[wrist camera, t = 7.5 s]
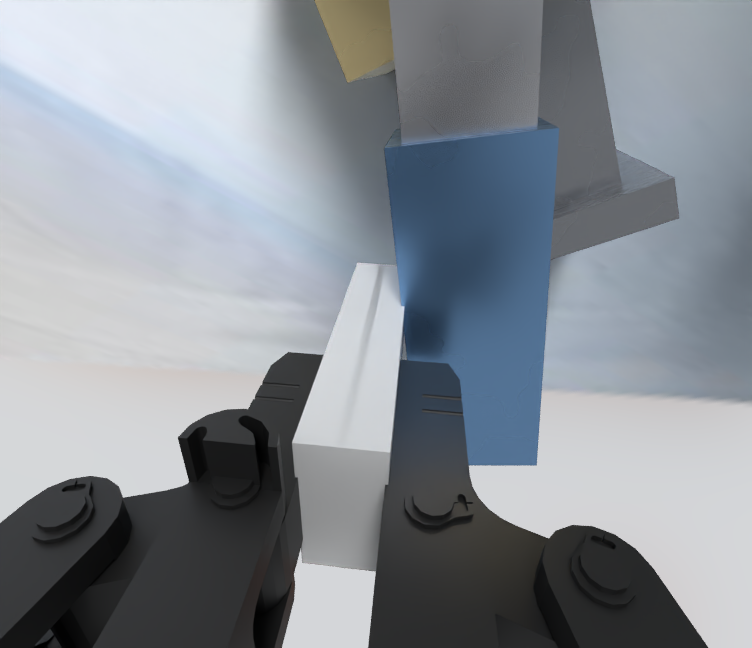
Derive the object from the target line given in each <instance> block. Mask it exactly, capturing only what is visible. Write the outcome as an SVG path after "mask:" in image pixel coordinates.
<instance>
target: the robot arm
mask: <svg viewBox="0 0 752 648" xmlns="http://www.w3.org/2000/svg"><path fill="white" fill-rule="evenodd" d="M403 321H404V306H401V297H400V288H399V279H398V270H397V265H386V264H372V263H357V265H356V268H355V270H354V273H353V276H352V279H351V281H350V284H349V287H348V290H347V292H346V295H345V298H344V301H343V303H342V306H341V309H340V312H339V314H338V317H337V320H336V323H335V326H334V328H333V331H332V334H331V337H330V339H329V342H328V345H327V348H326V350H325V353H324V355H316V354H304V353H291V352H288V353H287V354H285V355H284V356H283V357H281V358H280V359H279V360H278V361H276V362H275V363H274V364H272V365H271V367H270V369H269V371H268V373H267V374H266V376H265V378H264V380H263V384H262V385H261V386H260V388H259V390H258V392H257V394H256V396H255V400H253V401H252V403H251V405H250V407H249V409H231V410H224V411H220V412H216V413H213V414H209V415H207V416H205V417H203V418H201V419H200V420H198V421H196V422H194V423H192V424H191V425H190V426H189V427H188V428H187V429H186V430H185V431H184V432H183V433H182V434H181V435H180V436H179V437H178V440H179V444H180V448H181V452H182V456H183V459H184V463H185V467H186V471H187V475H188V478H189V483H188V484H186V485H184V486H182V487H178V488H174V489H170V490H167V491H161V492H155V493H149V494H144V495H137V496H131V497H125V498H123V497H122V494H121V492H120V489H119V486H117V485H116V484H114V483H113V482H112V481H110V480H109V479H107V478H100V477H94V476H88V477H81V478H75V479H69V480H67V481H64V482H62V483H59V484H57V485H54V486H51V487H49V488H47V489H46V490H44V491H42V492H41V493H40V494H38V495H36V496H35V497H33V498H32V499H30V500H29V501H27V502H26V503H25V504H24V505H22V506H21V507H20V508H18V509H17V510H16V511H15V512H14V513H12V514H11V515H10V516H8V517H7V518H6V519H5V520H4V521H2V522H1V523H0V648H282V644H283V640H284V637H285V633H286V629H287V625H288V621H289V617H290V613H291V609H292V605H293V602H294V590H295V581H294V571H295V567H296V564H297V560H298V556H299V552H300V548H301V552H302V562H303V563H310V564H318V565H328V566H336V567H342V568H351V569H360V570H369V571H376V577H375V586H374V596H373V606H372V616H371V626H370V636H369V647H368V648H708V647H707V645H706V644H705V642H704V641H703V640H702V638H701V636H700V635H699V634H698V633H697V631H696V629H695V628H694V626H693V625H692V624H691V622H690V621H689V619H688V618H687V616H686V615H685V614H684V612H683V611H682V609H681V608H680V606H679V605H678V603H677V602H676V601H675V599H674V598H673V596H672V595H671V593H670V592H669V591H668V589H667V588H666V586H665V585H664V583H663V582H662V580H661V579H660V578H659V576H658V575H657V573H656V572H655V570H654V569H653V568H652V566H651V565H649V563H648V562H647V561H646V560H645V559H644V558H643V557H642V555H641V554H640V553H639V552H638V551H637V550H636V549H635V548H633V547H632V546H631V545H629V544H627V543H626V542H625V541H623V540H622V539H620V538H619V537H617V536H616V535H614V534H611V533H609V532H606V531H604V530H601V529H598V528H596V527H592V526H578V525H571V526H568V527H566V528H563V529H560V530H557V531H555V532H554V534H553V535H552V536H551V537H550V538H549V539H548V538H546V537H543V536H540V535H538V534H536V533H533V532H530V531H528V530H525V529H523V528H520V527H518V526H515V525H513V524H511V523H509V522H507V521H505V520H503V519H501V518H500V517H499V516H497V515H496V514H494V513H493V512H492V511H490V510H489V509H488V508H487V507H486V506H485V505H484V504H483V502H482V501H481V500H480V499H479V498H478V496H477V494H476V492H475V491H474V489H473V487H472V484H471V479H470V475H469V465H468V455H467V445H466V435H465V425H464V416H463V405H462V401H461V400H462V396H461V386H460V379H459V378H458V376H457V375H456V374H455V372H454V371H453V369H452V368H451V367H450V365H449V364H447V363H434V362H422V361H409V360H402V352H403V338H404V325H403Z"/></svg>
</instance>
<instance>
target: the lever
mask: <svg viewBox="0 0 752 648" xmlns="http://www.w3.org/2000/svg"><path fill="white" fill-rule="evenodd" d="M389 7H390V18H391V29H392V40H393V51H394V62H395V73H396V84H397V95H398V106H399V117H400V128H401V129H397V130H395V131H394V133H393V135H392V136H391V138H390V140H389V141H388V143H387V144H386V146H385V148H384V151H385V160H386V169H387V178H388V187H389V197H390V206H391V215H392V224H393V233H394V242H395V252H396V261H397V270H398V279H399V288H400V297H401V306H404V321H403V325H404V334H405V343H406V352H407V360H409V361H422V362H434V363H447V364H449V365H450V367H451V368H452V369H453V371H454V372H455V374H456V375H457V376H458V378H459V379H460V386H461V396H462V400H461V401H462V405H463V416H464V425H465V435H466V445H467V455H468V465H537V450H538V435H539V421H540V405H541V391H542V377H543V362H544V347H545V332H546V317H547V303H548V288H549V273H550V258H551V243H552V229H553V214H554V199H555V184H556V169H557V154H558V140H559V128H558V127H557V126H555V125H553V124H551V123H549V122H547V121H545V120H544V119H542V118H540V117H538V104H539V83H540V61H541V39H542V17H543V0H389Z"/></svg>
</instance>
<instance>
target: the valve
mask: <svg viewBox="0 0 752 648" xmlns="http://www.w3.org/2000/svg"><path fill="white" fill-rule="evenodd" d="M314 1H315V3H316V6H317V8H318V11H319V13H320V16H321V18H322V21H323V23H324V26H325V28H326V31H327V33H328V36H329V38H330V41H331V43H332V46H333V48H334V51H335V53H336V55H337V58H338V60H339V63H340V65H341V68H342V70H343V73H344V75H345V78H346V80H347V83H349V82H353V81H358V80H362V79H366V78H371V77H375V76H380V75H384V74H387V73H389V72H391V71H393V70H395V62H394V51H393V40H392V29H391V18H390V7H389V0H314ZM538 117H540V118H542V119H544V120H545V121H547V122H549V123H551V124H553V125H555V126H557V127H558V128H559V140H558V154H557V169H556V184H555V199H554V214H553V229H552V243H551V258H550V260H552V259H555V258H558V257H561V256H564V255H567V254H570V253H573V252H576V251H579V250H583V249H586V248H589V247H592V246H595V245H598V244H601V243H604V242H607V241H610V240H613V239H617V238H620V237H623V236H626V235H629V234H632V233H635V232H638V231H641V230H644V229H648V228H651V227H654V226H657V225H660V224H663V223H666V222H669V221H672V220H675V219H679V212H678V204H677V196H676V187H675V179H674V177H672V176H670V175H668V174H666V173H664V172H662V171H660V170H658V169H656V168H654V167H652V166H650V165H647V164H645V163H643V162H641V161H639V160H637V159H635V158H633V157H631V156H629V155H627V154H625V153H623V152H621V151H619V150H617V149H616V148H615V142H614V136H613V131H612V125H611V119H610V113H609V108H608V102H607V96H606V90H605V85H604V79H603V73H602V67H601V62H600V56H599V50H598V45H597V39H596V33H595V27H594V22H593V16H592V10H591V4H590V0H543V17H542V39H541V61H540V83H539V104H538Z"/></svg>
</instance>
